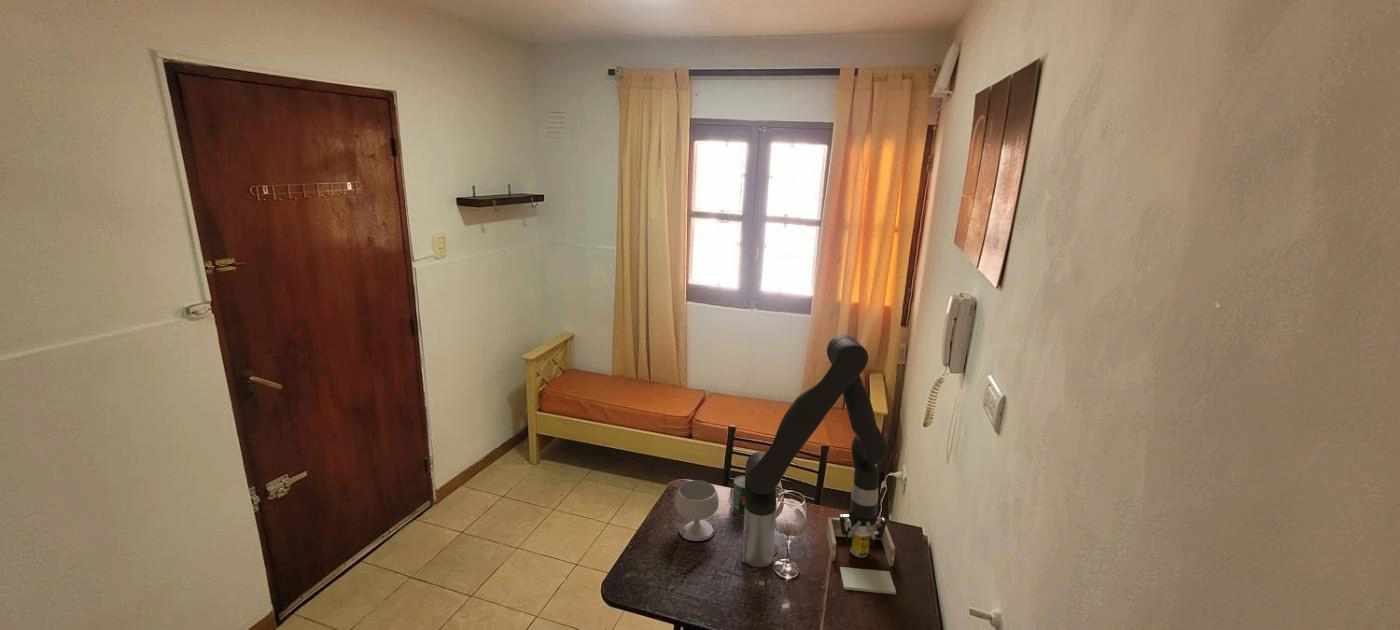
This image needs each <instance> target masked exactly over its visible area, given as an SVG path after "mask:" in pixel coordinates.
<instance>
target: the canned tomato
mask: <svg viewBox="0 0 1400 630" xmlns="http://www.w3.org/2000/svg"><path fill="white" fill-rule="evenodd" d="M732 496H733V497H732V498H733V501H732V503H733V504H732V511H733V510H734V511H733V512H734V514H736V513H737V514H736V515H738V514H739V515H738V516H740V515H743V516H742V517H744V514H745V475H738V476H736V477H735V478H734V479H733V495H732Z"/></svg>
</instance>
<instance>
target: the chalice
mask: <svg viewBox="0 0 1400 630" xmlns="http://www.w3.org/2000/svg"><path fill="white" fill-rule="evenodd" d="M676 492H677V493H676V495H675V500H674V501H675V502H674V504H675V508H676V510H677V512H678V513H680V515H681V516H683V517H684V518H686V519H688V520H689V519H693V520H694V521H691V522H689V523H688V524H686V526H685V531H686V532H687V533H688V532H689V533H690V534H691V535H693V536H695V537H697V536H698V537H704V536H705V537H706V536H710V535H711V534H712V532H713V528H712V525H711V524H710V523H711V522H710V521H709V522H710V523H709V522H707V521H708V520H707V521H705V520H706V519H708V518H710V517H712V516H714V514H715V513H716V512H717V510H718V508H719V503H720V502H719V501H720V499H719V495H718V492H717V490H716V487H715V486H714V485H713V484H711V483H710V482H708V481H705V480H701V479H699V480H698V479H696V480H695V479H694V480H688V481H686V482H684V483H682V484H681V485H680V486H679V488H678V490H677V491H676ZM702 519H704V520H702Z"/></svg>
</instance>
